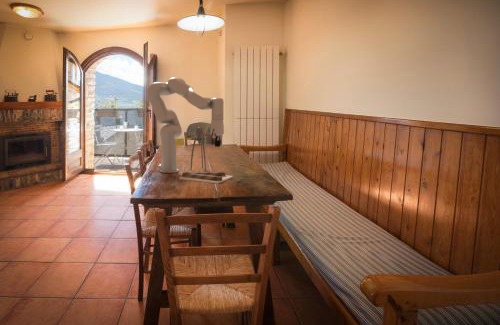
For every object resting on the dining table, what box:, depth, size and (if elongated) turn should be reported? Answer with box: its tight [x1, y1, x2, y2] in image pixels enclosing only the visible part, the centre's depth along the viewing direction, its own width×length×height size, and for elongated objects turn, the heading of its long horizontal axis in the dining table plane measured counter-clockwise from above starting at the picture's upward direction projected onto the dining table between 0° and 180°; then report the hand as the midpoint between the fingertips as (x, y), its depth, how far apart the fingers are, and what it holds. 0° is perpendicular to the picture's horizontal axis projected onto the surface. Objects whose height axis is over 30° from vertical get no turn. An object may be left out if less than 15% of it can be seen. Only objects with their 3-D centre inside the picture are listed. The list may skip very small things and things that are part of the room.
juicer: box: [190, 126, 207, 172], centre depth 258 cm, size 10×11×30 cm
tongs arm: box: [190, 171, 226, 176], centre depth 234 cm, size 22×3×2 cm, turn 96°
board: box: [178, 174, 234, 184], centre depth 231 cm, size 27×20×1 cm
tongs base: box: [181, 171, 222, 181], centre depth 226 cm, size 26×3×3 cm, turn 66°
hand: (217, 146), depth 238 cm, fingers closed
